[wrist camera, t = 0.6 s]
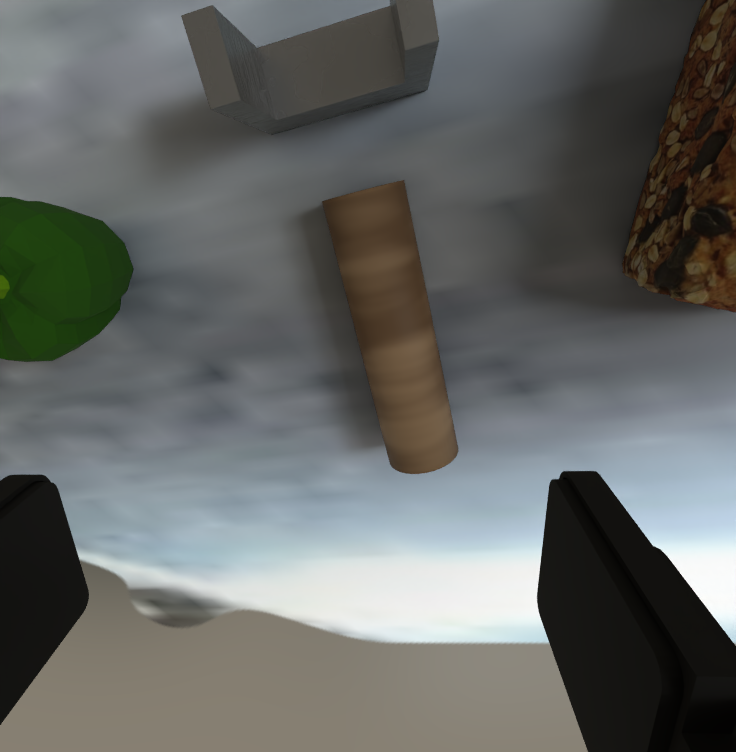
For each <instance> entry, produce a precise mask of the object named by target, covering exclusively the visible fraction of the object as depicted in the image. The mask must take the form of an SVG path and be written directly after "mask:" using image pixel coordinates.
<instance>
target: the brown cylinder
mask: <svg viewBox="0 0 736 752" xmlns="http://www.w3.org/2000/svg"><path fill="white" fill-rule="evenodd" d="M322 203H323V207H324V211H325V215H326V219H327V223H328V227H329V230H330V234H331V238H332V242H333V246H334V250H335V254H336V257H337V261H338V265H339V269H340V273H341V277H342V281H343V284H344V288H345V292H346V296H347V300H348V304H349V308H350V311H351V315H352V319H353V323H354V327H355V331H356V335H357V338H358V342H359V346H360V350H361V354H362V358H363V362H364V365H365V369H366V373H367V377H368V381H369V385H370V389H371V392H372V396H373V400H374V404H375V408H376V412H377V416H378V419H379V423H380V427H381V431H382V435H383V439H384V443H385V446H386V450H387V454H388V458H389V462H390V465H391V466H392V467H393V468H394V469H395V470H397V471H399V472H402V473H408V474H421V473H427V472H431V471H435V470H437V469H440V468H442V467H444V466H446V465H447V464H449V463H450V462H451V461H453V460H454V458H455V457H456V456H457V453H458V445H457V440H456V435H455V430H454V425H453V420H452V416H451V411H450V406H449V401H448V396H447V391H446V386H445V381H444V376H443V371H442V366H441V361H440V356H439V351H438V346H437V341H436V336H435V331H434V326H433V321H432V316H431V312H430V307H429V302H428V297H427V292H426V287H425V282H424V277H423V272H422V267H421V262H420V257H419V252H418V247H417V242H416V237H415V232H414V227H413V222H412V217H411V213H410V208H409V203H408V198H407V193H406V188H405V183H404V180H402V181H397V182H393V183H389V184H385V185H381V186H377V187H373V188H369V189H365V190H361V191H358V192H354V193H350V194H346V195H343V196H339V197H335V198H332V199H328V200H325V201H322Z"/></svg>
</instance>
